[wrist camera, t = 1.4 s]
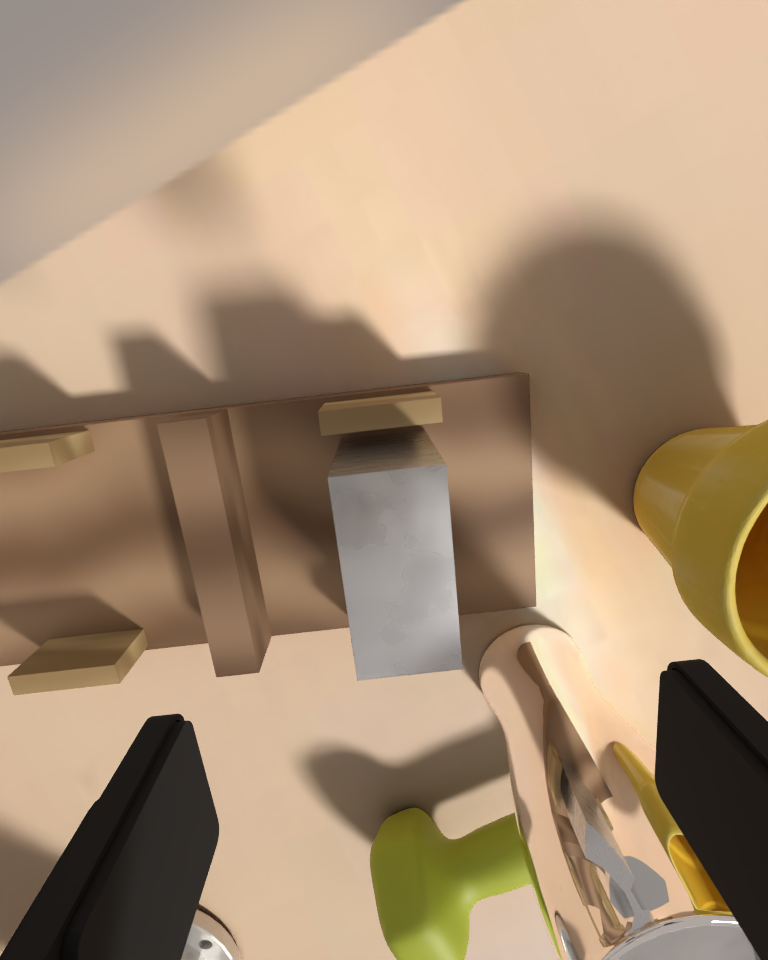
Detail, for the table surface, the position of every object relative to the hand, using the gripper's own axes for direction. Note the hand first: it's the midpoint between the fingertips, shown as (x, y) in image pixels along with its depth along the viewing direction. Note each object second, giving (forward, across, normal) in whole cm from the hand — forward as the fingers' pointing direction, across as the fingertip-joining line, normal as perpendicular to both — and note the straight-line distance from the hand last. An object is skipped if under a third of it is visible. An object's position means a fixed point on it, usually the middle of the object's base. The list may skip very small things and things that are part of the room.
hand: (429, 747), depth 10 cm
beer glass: (+17, -7, +12) cm, 21 cm away
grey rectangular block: (+15, 0, 0) cm, 15 cm away
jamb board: (+16, +8, 0) cm, 18 cm away
